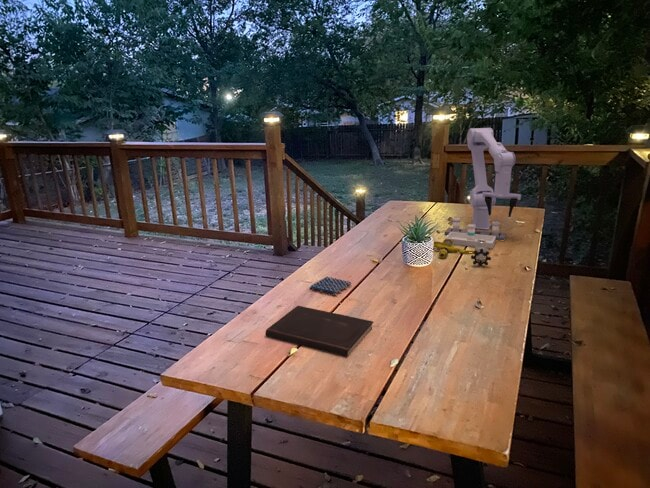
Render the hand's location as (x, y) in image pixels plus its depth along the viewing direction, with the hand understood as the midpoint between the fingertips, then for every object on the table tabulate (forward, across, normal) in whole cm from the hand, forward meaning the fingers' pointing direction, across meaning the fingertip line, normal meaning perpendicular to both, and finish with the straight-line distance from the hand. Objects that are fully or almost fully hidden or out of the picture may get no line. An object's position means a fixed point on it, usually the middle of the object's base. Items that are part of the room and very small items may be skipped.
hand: (499, 215), depth 187 cm
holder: (+9, -9, -1) cm, 13 cm away
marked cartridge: (+9, -9, -12) cm, 17 cm away
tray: (+9, -9, -12) cm, 18 cm away
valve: (+10, -2, -32) cm, 34 cm away
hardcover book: (+10, -31, -102) cm, 107 cm away
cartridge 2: (+9, -1, -1) cm, 10 cm away
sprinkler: (+10, -14, -28) cm, 33 cm away
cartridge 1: (+9, -17, -1) cm, 19 cm away
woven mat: (+10, -41, -75) cm, 86 cm away
